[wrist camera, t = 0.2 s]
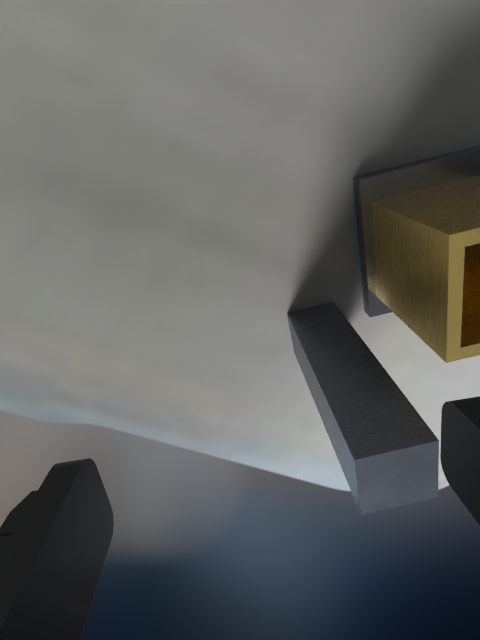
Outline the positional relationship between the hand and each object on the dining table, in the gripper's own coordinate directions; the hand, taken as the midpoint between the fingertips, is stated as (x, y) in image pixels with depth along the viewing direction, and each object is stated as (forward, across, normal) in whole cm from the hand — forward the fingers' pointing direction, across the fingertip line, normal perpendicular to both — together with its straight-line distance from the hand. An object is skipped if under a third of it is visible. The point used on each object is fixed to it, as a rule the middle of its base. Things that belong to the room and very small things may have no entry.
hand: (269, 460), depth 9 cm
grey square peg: (+23, -6, +7) cm, 25 cm away
